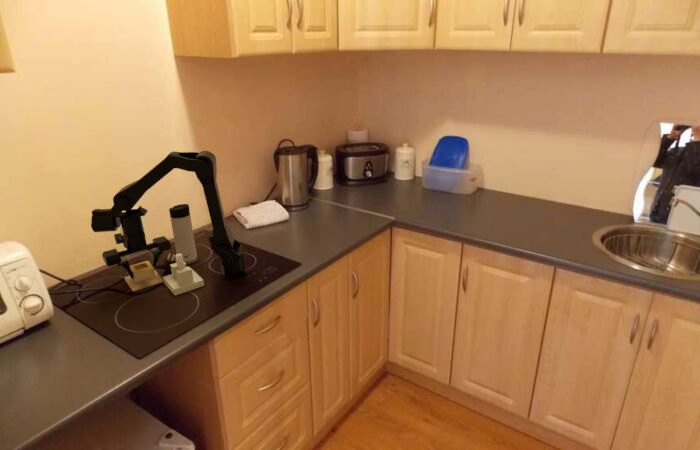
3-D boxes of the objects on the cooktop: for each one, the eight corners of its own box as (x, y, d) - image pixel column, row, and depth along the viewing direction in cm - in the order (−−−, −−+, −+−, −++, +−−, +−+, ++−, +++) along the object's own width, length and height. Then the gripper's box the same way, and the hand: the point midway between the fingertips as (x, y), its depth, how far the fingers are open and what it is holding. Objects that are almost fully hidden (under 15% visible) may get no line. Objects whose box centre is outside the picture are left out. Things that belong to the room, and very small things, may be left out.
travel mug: (190, 265, 154) (181, 209, 146) (174, 263, 156) (164, 207, 148) (202, 257, 160) (193, 203, 152) (185, 255, 162) (176, 201, 154)
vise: (192, 273, 149) (187, 245, 145) (204, 285, 142) (199, 256, 138) (163, 282, 144) (158, 253, 140) (174, 295, 137) (169, 265, 133)
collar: (149, 268, 148) (148, 260, 147) (155, 275, 144) (154, 267, 143) (130, 274, 145) (128, 266, 144) (135, 281, 140) (133, 273, 139)
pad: (154, 271, 151) (153, 268, 151) (163, 281, 144) (162, 279, 144) (124, 280, 146) (124, 277, 146) (132, 291, 139) (132, 288, 139)
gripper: (156, 214, 150) (164, 257, 156) (92, 229, 139) (104, 274, 145) (167, 224, 141) (176, 269, 147) (101, 241, 131) (113, 289, 137)
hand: (142, 275), depth 144 cm, fingers closed on collar, 6 cm apart
